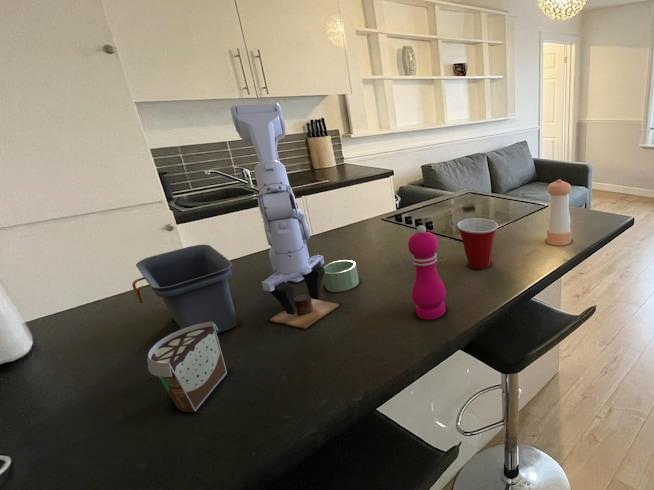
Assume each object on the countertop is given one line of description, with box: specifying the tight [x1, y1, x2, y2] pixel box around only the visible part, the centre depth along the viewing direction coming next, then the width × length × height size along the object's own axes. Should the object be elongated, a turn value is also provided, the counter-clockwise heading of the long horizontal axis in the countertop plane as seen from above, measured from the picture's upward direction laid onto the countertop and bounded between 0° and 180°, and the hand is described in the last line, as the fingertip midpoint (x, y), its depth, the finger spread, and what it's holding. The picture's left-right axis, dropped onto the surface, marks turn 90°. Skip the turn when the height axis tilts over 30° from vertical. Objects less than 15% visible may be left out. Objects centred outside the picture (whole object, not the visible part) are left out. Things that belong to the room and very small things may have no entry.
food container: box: [146, 322, 228, 413], centre depth 66 cm, size 12×6×10 cm, turn 5°
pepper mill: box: [407, 224, 447, 321], centre depth 85 cm, size 7×7×20 cm
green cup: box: [322, 259, 360, 293], centre depth 103 cm, size 8×8×5 cm
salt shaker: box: [546, 178, 573, 246], centre depth 121 cm, size 7×7×19 cm
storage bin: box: [131, 244, 238, 335], centre depth 86 cm, size 21×16×14 cm
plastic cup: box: [456, 217, 499, 270], centre depth 109 cm, size 11×11×12 cm
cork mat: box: [269, 293, 340, 330], centre depth 90 cm, size 10×10×4 cm
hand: (303, 305), depth 90 cm, fingers open, 6 cm apart
